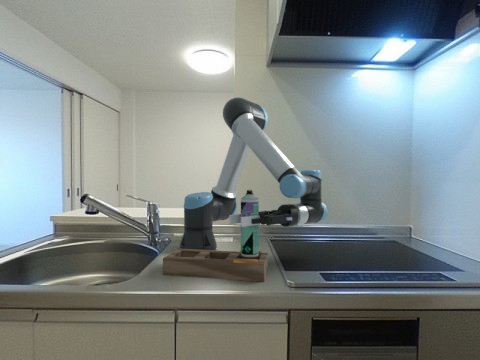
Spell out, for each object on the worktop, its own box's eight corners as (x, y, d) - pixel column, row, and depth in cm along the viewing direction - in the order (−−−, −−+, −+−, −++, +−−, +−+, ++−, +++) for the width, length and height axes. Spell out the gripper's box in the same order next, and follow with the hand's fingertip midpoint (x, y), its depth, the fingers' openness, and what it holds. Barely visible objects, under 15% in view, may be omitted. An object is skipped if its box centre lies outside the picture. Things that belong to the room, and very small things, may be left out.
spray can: (248, 251, 88) (247, 189, 88) (262, 254, 85) (261, 189, 85) (237, 255, 84) (237, 190, 84) (251, 258, 81) (251, 190, 81)
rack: (178, 262, 96) (178, 247, 96) (267, 268, 90) (267, 251, 90) (162, 274, 84) (162, 256, 84) (264, 281, 78) (264, 262, 78)
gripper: (312, 229, 87) (254, 238, 74) (274, 222, 102) (220, 228, 89) (312, 206, 87) (254, 210, 74) (273, 202, 102) (219, 205, 89)
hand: (235, 220), depth 82 cm, fingers closed on spray can, 5 cm apart
